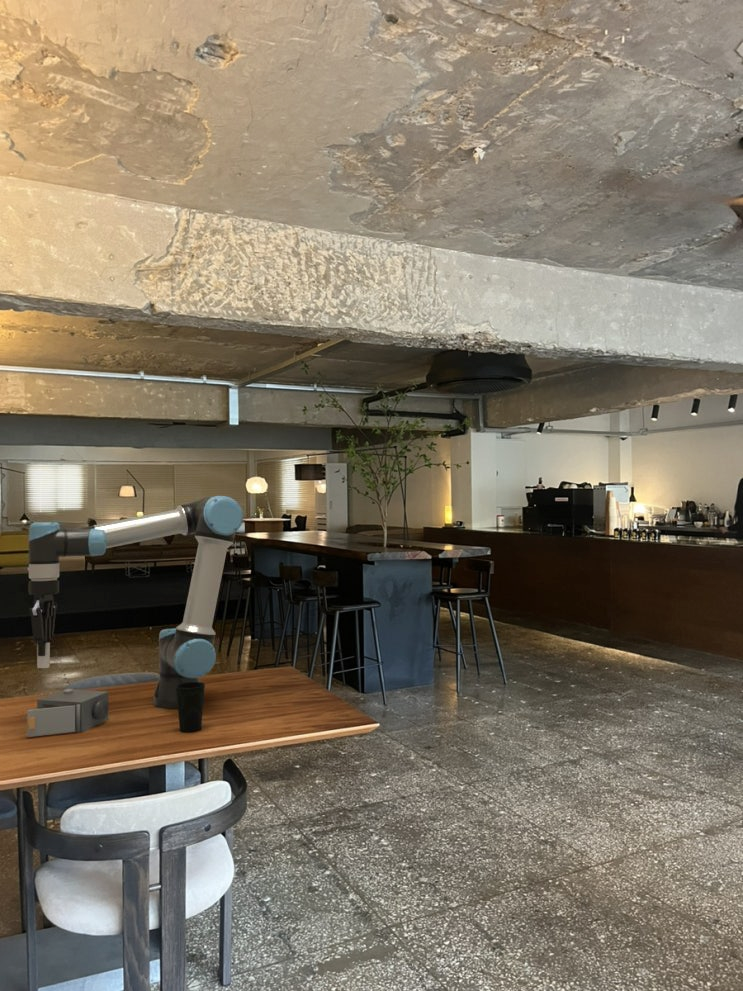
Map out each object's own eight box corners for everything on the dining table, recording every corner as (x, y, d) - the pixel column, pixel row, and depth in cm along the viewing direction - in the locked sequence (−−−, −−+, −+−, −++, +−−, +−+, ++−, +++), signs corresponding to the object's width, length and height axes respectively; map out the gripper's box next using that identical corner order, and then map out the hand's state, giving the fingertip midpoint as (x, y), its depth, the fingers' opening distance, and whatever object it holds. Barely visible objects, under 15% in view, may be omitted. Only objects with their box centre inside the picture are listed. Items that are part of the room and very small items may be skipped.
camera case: (113, 720, 205) (113, 689, 205) (84, 733, 192) (84, 700, 192) (66, 717, 209) (65, 686, 209) (34, 730, 196) (34, 697, 196)
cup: (178, 735, 190) (177, 689, 190) (173, 727, 197) (173, 683, 197) (207, 731, 193) (207, 686, 193) (202, 724, 200) (202, 680, 200)
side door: (75, 730, 193) (75, 705, 194) (75, 732, 192) (74, 706, 192) (27, 736, 189) (27, 710, 189) (27, 737, 188) (27, 711, 188)
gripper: (39, 577, 200) (39, 662, 200) (19, 581, 187) (18, 672, 187) (67, 577, 201) (66, 662, 200) (48, 581, 188) (48, 672, 187)
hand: (43, 667), depth 193 cm, fingers closed
